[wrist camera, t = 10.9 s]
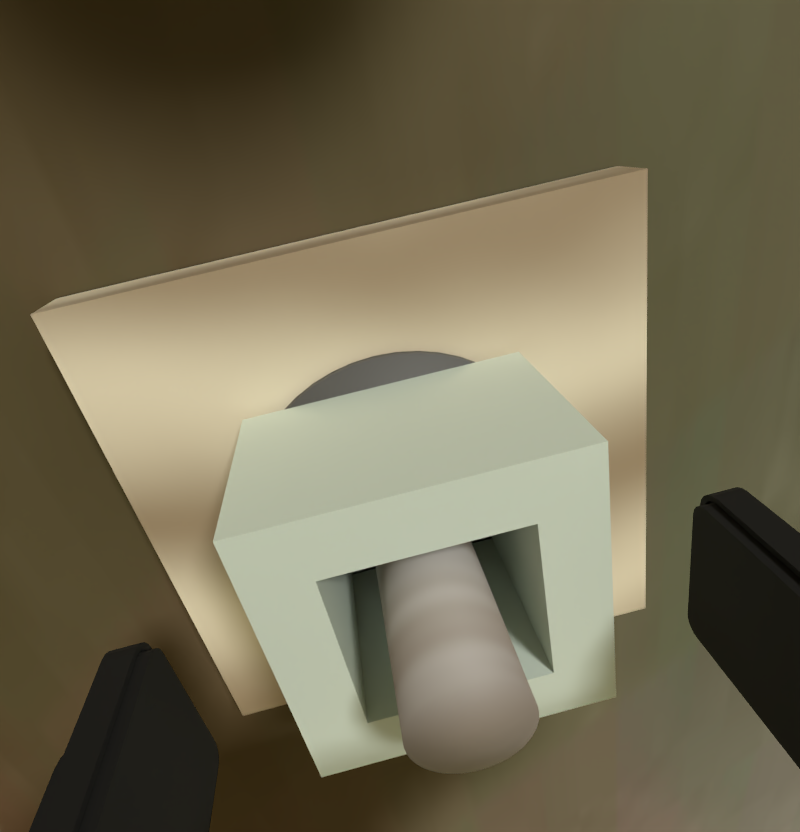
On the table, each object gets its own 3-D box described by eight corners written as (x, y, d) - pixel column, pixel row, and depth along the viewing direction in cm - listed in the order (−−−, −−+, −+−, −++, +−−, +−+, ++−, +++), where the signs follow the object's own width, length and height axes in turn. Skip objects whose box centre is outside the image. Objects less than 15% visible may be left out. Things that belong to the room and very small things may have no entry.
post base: (57, 298, 11) (-269, 498, 5) (616, 166, 12) (978, 194, 5) (247, 679, 17) (208, 1007, 10) (624, 579, 17) (809, 834, 11)
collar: (242, 419, 12) (212, 542, 8) (518, 352, 12) (607, 441, 8) (318, 620, 14) (321, 777, 11) (541, 561, 15) (616, 696, 11)
